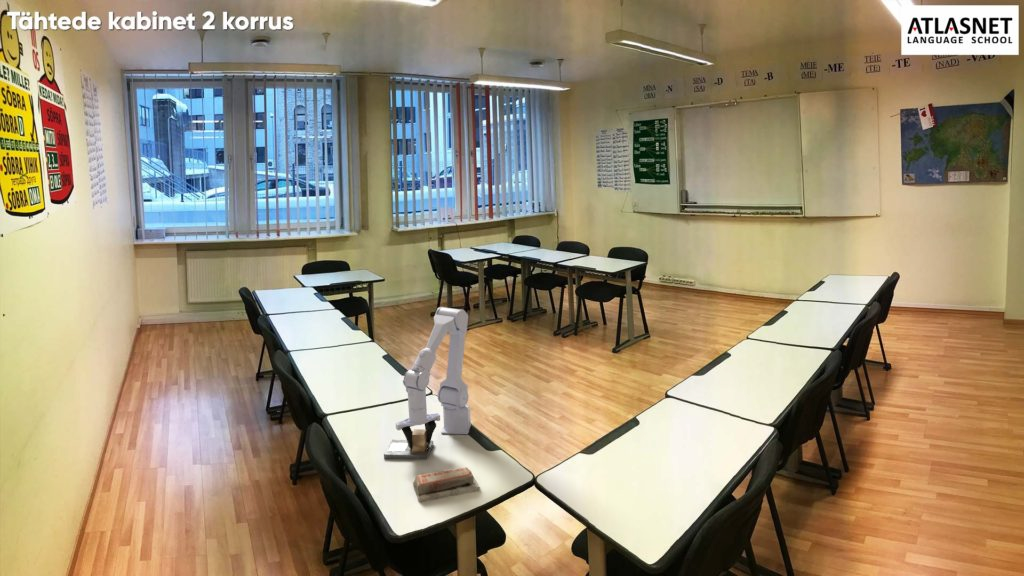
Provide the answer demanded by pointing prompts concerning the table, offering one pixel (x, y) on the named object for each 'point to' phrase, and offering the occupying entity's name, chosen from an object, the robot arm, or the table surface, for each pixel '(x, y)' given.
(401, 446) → the plate
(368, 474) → the table surface
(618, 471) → the table surface
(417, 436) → the peg
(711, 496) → the table surface
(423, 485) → the packaged product
